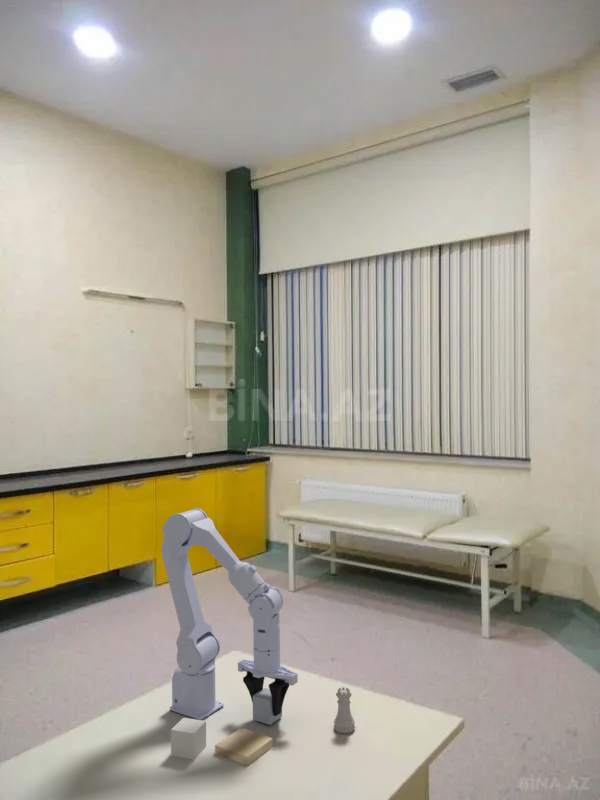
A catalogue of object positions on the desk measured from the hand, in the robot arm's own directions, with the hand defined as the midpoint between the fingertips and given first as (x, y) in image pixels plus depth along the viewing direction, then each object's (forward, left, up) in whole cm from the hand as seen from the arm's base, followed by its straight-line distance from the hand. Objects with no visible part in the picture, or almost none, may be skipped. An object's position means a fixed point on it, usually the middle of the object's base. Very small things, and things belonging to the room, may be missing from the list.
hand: (267, 711), depth 130 cm
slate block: (0, 0, -1) cm, 1 cm away
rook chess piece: (+16, +5, -2) cm, 17 cm away
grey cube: (-6, -18, -2) cm, 19 cm away
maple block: (+3, -12, -2) cm, 13 cm away
